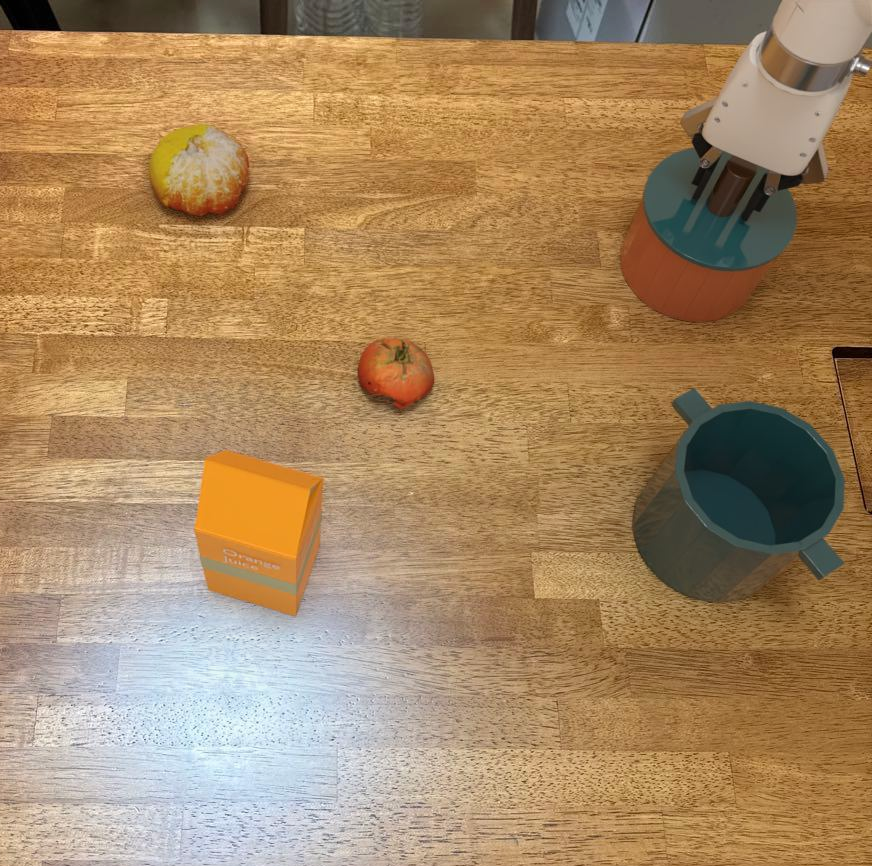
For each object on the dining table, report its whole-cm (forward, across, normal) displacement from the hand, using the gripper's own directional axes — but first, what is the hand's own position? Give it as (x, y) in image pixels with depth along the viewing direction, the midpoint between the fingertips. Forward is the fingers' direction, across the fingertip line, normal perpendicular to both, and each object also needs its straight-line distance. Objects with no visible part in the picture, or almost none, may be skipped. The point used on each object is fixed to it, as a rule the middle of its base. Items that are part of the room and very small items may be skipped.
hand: (724, 199), depth 103 cm
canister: (+10, 0, 0) cm, 10 cm away
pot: (+10, -13, +30) cm, 34 cm away
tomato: (+11, +21, +29) cm, 38 cm away
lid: (+1, 0, 0) cm, 1 cm away
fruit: (+11, +52, +18) cm, 56 cm away
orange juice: (+11, +23, +54) cm, 59 cm away
